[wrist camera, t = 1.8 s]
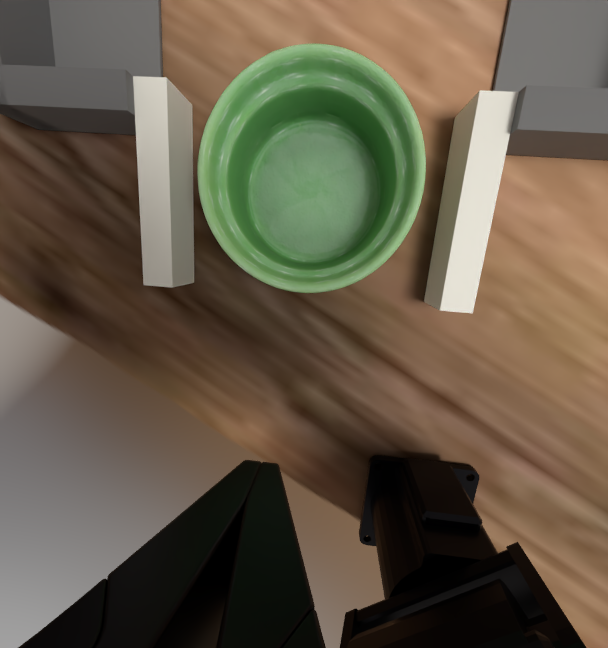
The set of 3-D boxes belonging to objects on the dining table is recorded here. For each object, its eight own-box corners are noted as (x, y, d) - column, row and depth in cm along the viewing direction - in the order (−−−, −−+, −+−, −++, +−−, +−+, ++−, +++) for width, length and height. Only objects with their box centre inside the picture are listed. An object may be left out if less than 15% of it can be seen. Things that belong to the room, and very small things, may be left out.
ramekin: (256, 298, 18) (232, 314, 13) (209, 131, 16) (164, 86, 11) (413, 261, 16) (443, 265, 12) (383, 75, 15) (404, 2, 10)
